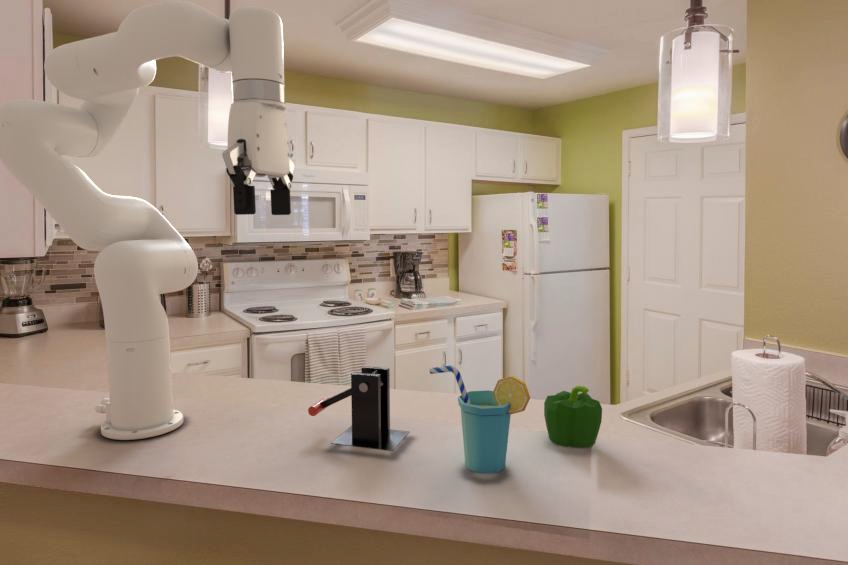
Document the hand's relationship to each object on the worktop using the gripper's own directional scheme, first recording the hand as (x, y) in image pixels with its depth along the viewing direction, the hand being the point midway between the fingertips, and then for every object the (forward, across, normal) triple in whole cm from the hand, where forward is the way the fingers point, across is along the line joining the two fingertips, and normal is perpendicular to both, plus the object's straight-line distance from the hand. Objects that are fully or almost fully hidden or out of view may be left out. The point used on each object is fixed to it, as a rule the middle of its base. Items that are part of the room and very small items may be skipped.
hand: (264, 214), depth 87 cm
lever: (+29, -4, +11) cm, 32 cm away
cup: (+36, +1, +33) cm, 49 cm away
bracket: (+36, -4, +15) cm, 39 cm away
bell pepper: (+36, -12, +45) cm, 59 cm away
